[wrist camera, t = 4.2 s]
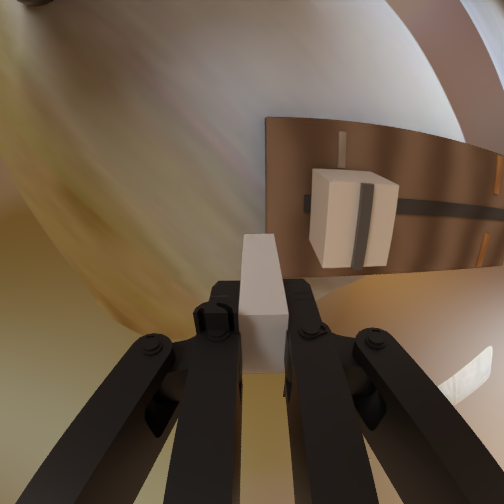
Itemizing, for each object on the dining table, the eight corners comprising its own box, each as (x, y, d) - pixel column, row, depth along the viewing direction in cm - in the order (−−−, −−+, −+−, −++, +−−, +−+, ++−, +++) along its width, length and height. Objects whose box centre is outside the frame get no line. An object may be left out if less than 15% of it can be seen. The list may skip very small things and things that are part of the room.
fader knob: (309, 239, 23) (323, 270, 18) (312, 168, 21) (331, 182, 16) (363, 238, 23) (388, 268, 18) (370, 171, 21) (402, 186, 16)
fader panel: (265, 262, 28) (267, 279, 25) (264, 118, 22) (266, 117, 19) (489, 255, 28) (502, 266, 25) (508, 158, 22) (524, 163, 19)
